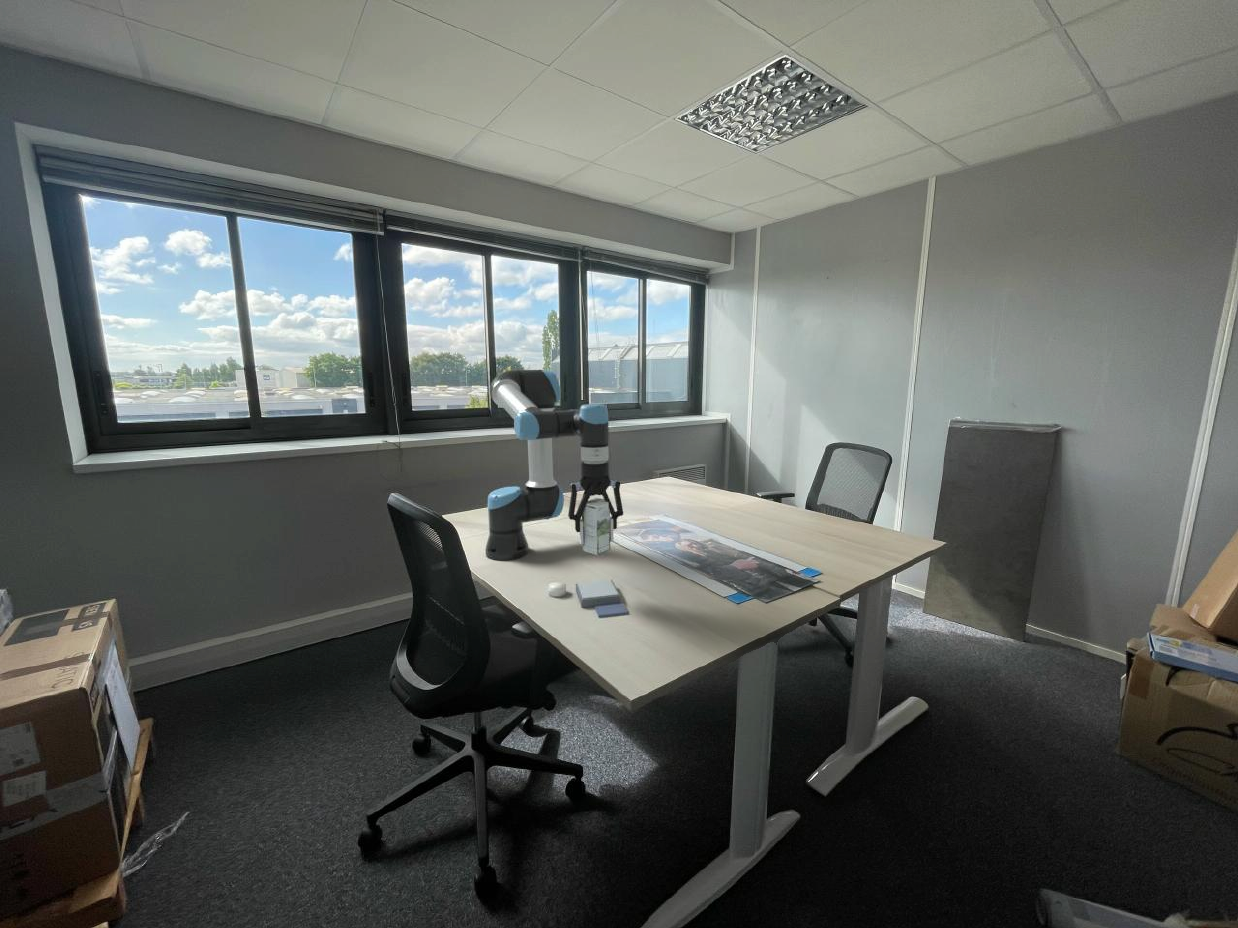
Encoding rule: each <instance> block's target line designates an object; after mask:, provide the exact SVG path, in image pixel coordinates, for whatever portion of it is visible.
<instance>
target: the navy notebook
mask: <svg viewBox="0 0 1238 928" xmlns="http://www.w3.org/2000/svg"><path fill="white" fill-rule="evenodd" d="M594 609H595V613H596V615H597V617H598V618H607V617H615V616H623V615H629V611H628V609H627V607H626V605H625V603H624V602H623V603H618V604H609V605H601V606H594Z"/></svg>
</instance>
